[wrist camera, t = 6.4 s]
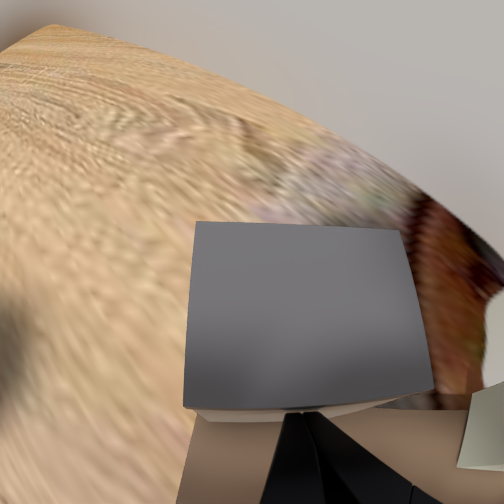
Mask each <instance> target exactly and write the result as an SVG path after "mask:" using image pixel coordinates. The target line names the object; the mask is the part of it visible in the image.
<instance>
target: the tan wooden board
mask: <svg viewBox="0 0 504 504" xmlns="http://www.w3.org/2000/svg"><path fill="white" fill-rule="evenodd" d="M469 411H470V410H407V409H388V408H373V407H370V408H367V409H363V410H360V411H356V412H352V413H348V414H344V415H340V416H336V417H332V418H328V419H329V420H330V421H331V422H333V423H334V424H335V425H336V426H337V427H339V428H340V429H341V430H342V431H344V432H345V433H346V434H347V435H349V436H350V437H351V438H353V439H354V440H355V441H356V442H358V443H359V444H360V445H361V446H363V447H364V448H365V449H367V450H368V451H369V452H371V453H372V454H373V455H374V456H376V457H377V458H378V459H380V460H381V461H382V462H384V463H385V464H386V465H388V466H389V467H390V468H392V469H393V470H395V471H396V472H397V473H399V474H400V475H401V476H403V477H404V478H406V479H407V480H408V481H410V482H411V483H412V484H413V485H416V486H417V487H419V488H420V489H421V490H423V491H424V492H426V493H427V494H429V495H431V496H432V497H434V498H435V499H437V500H438V501H440V502H442V503H444V504H504V471H492V470H479V469H468V468H459V467H457V463H458V459H459V456H460V452H461V448H462V444H463V440H464V435H465V431H466V426H467V421H468V416H469ZM282 422H283V421H279V422H208V421H207V420H206V419H204V418H203V417H202V416H201V415H199V414H198V413H197V417H196V421H195V425H194V429H193V433H192V437H191V441H190V445H189V450H188V454H187V458H186V462H185V466H184V470H183V475H182V479H181V483H180V487H179V492H178V496H177V500H176V504H258V503H259V500H260V497H261V494H262V491H263V488H264V485H265V481H266V478H267V475H268V471H269V468H270V465H271V461H272V458H273V455H274V451H275V448H276V444H277V441H278V437H279V433H280V430H281V426H282ZM413 485H412V486H413Z"/></svg>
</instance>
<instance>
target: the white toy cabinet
mask: <svg viewBox="0 0 504 504" xmlns="http://www.w3.org/2000/svg"><path fill="white" fill-rule="evenodd" d="M432 389H434V382H433V375H432V368H431V362H430V356H429V350H428V345H427V340H426V334H425V329H424V324H423V320H422V315H421V310H420V306H419V302H418V297H417V293H416V289H415V285H414V281H413V277H412V274H411V270H410V266H409V262H408V259H407V255H406V252H405V248H404V245H403V242H402V238H401V235H400V232H399V230H390V229H374V228H357V227H338V226H318V225H296V224H271V223H242V222H207V221H196V227H195V237H194V246H193V257H192V267H191V279H190V291H189V303H188V317H187V332H186V349H185V368H184V391H183V407H185V408H186V409H193V410H194V411H195V412H197V413H198V414H199V415H201V416H202V417H203V418H204V419H206V420H207V421H208V422H279V421H283V419H284V415H285V414H286V413H293V412H300V413H303V412H309V411H319V412H320V413H322V414H323V415H324V416H325V417H326V418H332V417H336V416H340V415H344V414H348V413H352V412H356V411H360V410H363V409H367V408H370V407H374V406H377V405H381V404H384V403H387V402H390V401H393V400H397V399H400V398H403V397H406V396H412V395H417V394H421V393H424V392H427V391H430V390H432Z"/></svg>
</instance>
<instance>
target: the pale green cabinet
mask: <svg viewBox="0 0 504 504" xmlns="http://www.w3.org/2000/svg"><path fill="white" fill-rule="evenodd" d="M457 467H459V468H468V469H479V470H492V471H504V382H502V383H499V384H496V385H494V386H491V387H489V388H486V389H483V390H480V391H478V392H475V393H472V399H471V405H470V411H469V416H468V421H467V426H466V431H465V435H464V440H463V444H462V448H461V452H460V456H459V459H458V463H457Z"/></svg>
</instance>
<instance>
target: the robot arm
mask: <svg viewBox="0 0 504 504" xmlns="http://www.w3.org/2000/svg"><path fill="white" fill-rule="evenodd" d="M412 485H413V484H412V483H411V482H410V481H408V480H407V479H406V478H404V477H403V476H401V475H400V474H399V473H397V472H396V471H395V470H393V469H392V468H390V467H389V466H388V465H386V464H385V463H384V462H382V461H381V460H380V459H378V458H377V457H376V456H374V455H373V454H372V453H371V452H369V451H368V450H367V449H365V448H364V447H363V446H361V445H360V444H359V443H358V442H356V441H355V440H354V439H353V438H351V437H350V436H349V435H347V434H346V433H345V432H344V431H342V430H341V429H340V428H339V427H337V426H336V425H335V424H334V423H333V422H331V421H330V420H329V419H328V418H326V417H325V416H324V415H323V414H322V413H320V412H319V411H309V412H303V413H300V412H293V413H286V414H285V415H284V419H283V422H282V426H281V430H280V433H279V437H278V441H277V444H276V448H275V451H274V455H273V458H272V461H271V465H270V468H269V471H268V475H267V478H266V481H265V485H264V488H263V491H262V494H261V497H260V500H259V503H258V504H444V503H442V502H440V501H438V500H437V499H435V498H434V497H432V496H431V495H429V494H427V493H426V492H424V491H423V490H421V489H420V488H419V487H417V486H416V485H413V486H412Z"/></svg>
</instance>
